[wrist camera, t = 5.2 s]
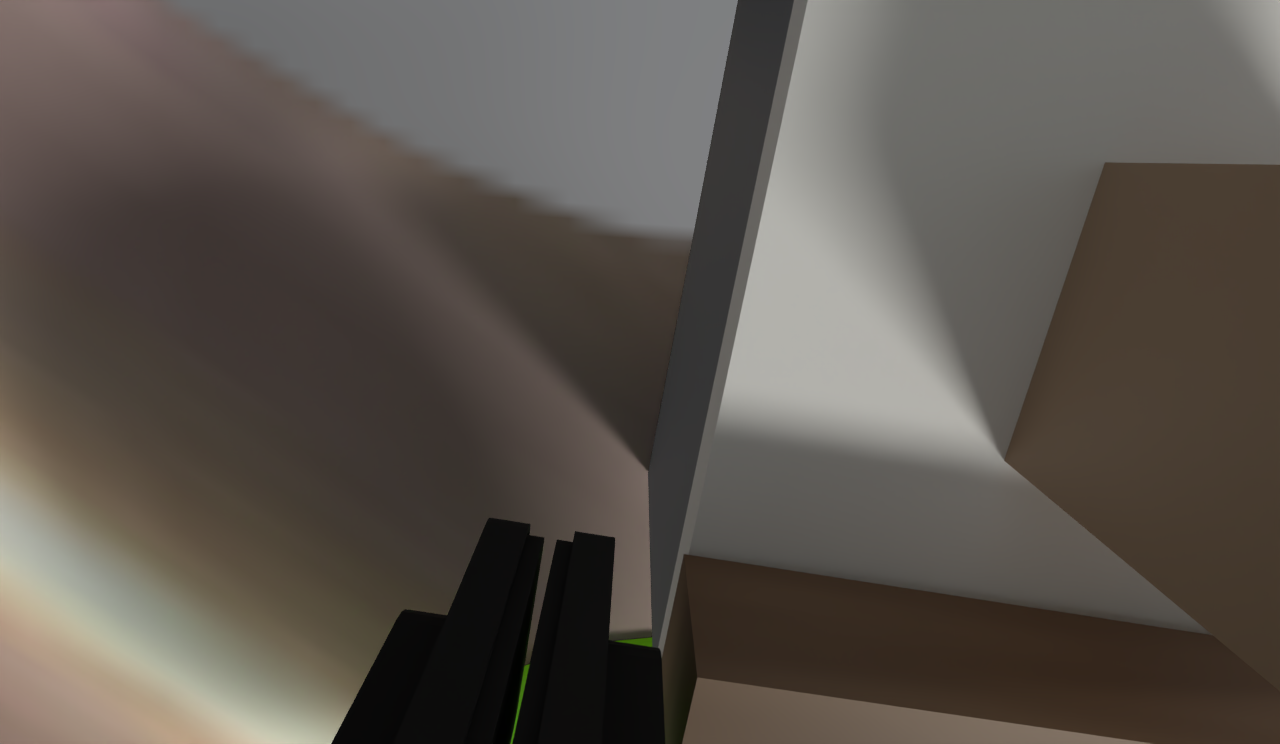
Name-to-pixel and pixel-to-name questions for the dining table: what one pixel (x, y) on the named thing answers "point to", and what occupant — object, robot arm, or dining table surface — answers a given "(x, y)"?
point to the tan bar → (935, 669)
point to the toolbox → (711, 278)
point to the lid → (1013, 313)
